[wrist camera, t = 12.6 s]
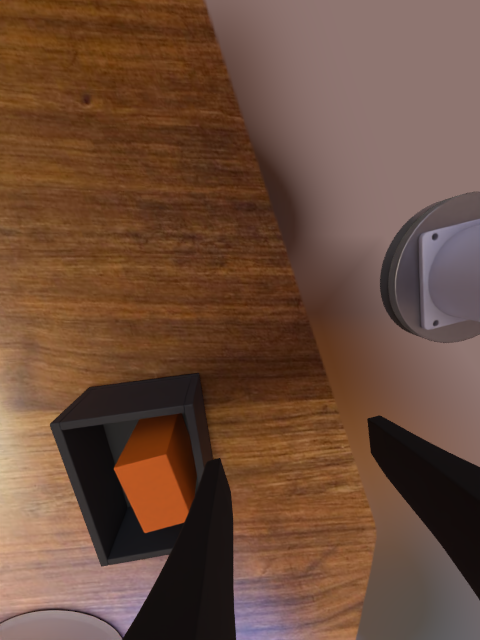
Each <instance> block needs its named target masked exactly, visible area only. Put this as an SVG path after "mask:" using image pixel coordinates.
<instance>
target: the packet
mask: <svg viewBox="0 0 480 640" xmlns="http://www.w3.org/2000/svg"><path fill="white" fill-rule="evenodd" d="M114 471H115V473H116V475H117V477H118V479H119V481H120V483H121V485H122V487H123V489H124V491H125V494H126V496H127V498H128V500H129V502H130V504H131V506H132V508H133V510H134V512H135V514H136V517H137V519H138V521H139V523H140V525H141V527H142V529H143V531H144V533H148V532H151V531H155V530H159V529H162V528H166V527H170V526H173V525H177V524H181V523H184V522H185V520H186V517H187V515H188V512H189V510H190V507H191V505H192V502H193V499H194V497H195V488H196V479H197V472H196V467H195V462H194V456H193V451H192V445H191V440H190V436H189V433H188V430H187V428H186V425H185V422H184V419H183V416H182V413H180V414H173V415H166V416H159V417H152V418H145V419H139V421H138V423H137V425H136V427H135V428H134V430H133V432H132V434H131V436H130V438H129V440H128V442H127V444H126V446H125V448H124V449H123V451H122V453H121V455H120V457H119V459H118V461H117V463H116V465H115V467H114Z"/></svg>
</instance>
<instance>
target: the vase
mask: <svg viewBox="0 0 480 640" xmlns="http://www.w3.org/2000/svg"><path fill="white" fill-rule="evenodd" d="M0 640H122V638H121V636H120V635H119V634H118V632H117V631H116V630H115V629H114V628H112V627H111V626H110V625H108V624H107V623H105V622H104V621H102V620H100V619H98V618H95V617H93V616H89V615H86V614H82V613H78V612H72V611H61V610H48V611H38V612H32V613H27V614H23V615H20V616H17V617H14V618H12V619H9V620H7V621H5V622H3V623H2V624H0Z"/></svg>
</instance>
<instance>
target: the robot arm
mask: <svg viewBox="0 0 480 640" xmlns="http://www.w3.org/2000/svg"><path fill="white" fill-rule="evenodd" d="M432 235H433V239H432ZM418 242H419V277H420V312H421V327H422V328H423V329H426V330H431V329H435V328H439V327H443V326H447V325H451V324H455V323H458V322H462V321H466V320H472V321H477V322H480V219H477V220H472V221H468V222H464V223H460V224H456V225H452V226H448V227H444V228H440V229H436V230H432V231H428V232H424V233H422V234H421V235H420V237H419V240H418ZM433 322H434V323H433ZM368 427H369V438H370V448H371V454H372V455H373V457H374V458H375V460H376V462H377V463H378V465H379V466H380V468H381V469H382V471H383V472H384V474H385V475H386V477H387V478H388V479H389V480H390V482H391V483H392V484H393V485H394V487H395V488H396V489H397V490H398V492H399V493H400V494H401V495H402V497H403V498H404V499H405V500H406V502H407V503H408V504H409V505H410V506H411V508H412V509H413V510H414V511H415V513H416V514H417V515H418V516H419V518H421V520H422V521H423V522H424V524H425V525H426V526H427V527H428V529H429V530H430V531H431V532H432V534H433V535H434V536H435V537H436V539H437V540H438V541H439V543H440V544H441V545H442V546H443V548H444V549H445V551H446V552H447V554H448V555H449V556H450V558H451V559H452V561H453V562H454V563H455V565H456V566H457V568H458V569H459V571H460V572H461V573H462V575H463V576H464V578H465V579H466V581H467V582H468V583H469V585H470V586H471V588H472V589H473V591H474V592H475V594H476V595H477V596H478V598H479V600H480V467H478V466H476V465H474V464H472V463H470V462H468V461H465V460H463V459H461V458H459V457H457V456H455V455H453V454H451V453H449V452H447V451H445V450H443V449H441V448H439V447H437V446H435V445H433V444H431V443H429V442H427V441H426V440H424V439H422V438H420V437H418V436H416V435H414V434H413V433H411V432H409V431H407V430H405V429H404V428H402V427H400V426H398V425H396V424H395V423H393V422H391V421H389V420H387V419H385V418H383V417H382V416H376V417H372V418H368ZM122 640H236V630H235V615H234V593H233V511H232V500H231V491H230V488H229V484H228V481H227V478H226V475H225V472H224V469H223V466H222V463H221V459H220V458H218V459H214V460H211V461H207V463H206V464H205V468H204V471H203V474H202V477H201V480H200V483H199V486H198V489H197V492H196V494H195V497H194V499H193V502H192V505H191V507H190V510H189V512H188V515H187V517H186V520H185V522H184V524H183V526H182V529H181V531H180V533H179V536H178V538H177V540H176V542H175V544H174V547H173V549H172V551H171V553H170V555H169V557H168V559H167V561H166V563H165V565H164V567H163V569H162V571H161V573H160V575H159V577H158V579H157V580H156V582H155V584H154V586H153V588H152V590H151V591H150V593H149V595H148V597H147V599H146V601H145V602H144V604H143V606H142V608H141V609H140V611H139V613H138V614H137V616H136V618H135V620H134V621H133V623H132V624H131V626H130V628H129V629H128V631H127V633H126V634H125V636H124V637H123V639H122Z"/></svg>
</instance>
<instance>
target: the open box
mask: <svg viewBox="0 0 480 640" xmlns="http://www.w3.org/2000/svg"><path fill="white" fill-rule="evenodd" d="M180 413H182V416H183V419H184V422H185V425H186V428H187V430H188V433H189V436H190V440H191V445H192V451H193V456H194V462H195V467H196V472H197V479H196V488H195V494H196V492H197V489H198V486H199V483H200V480H201V477H202V474H203V471H204V468H205V464H206V463H207V461H211V460H213V457H212V451H211V444H210V438H209V432H208V426H207V419H206V413H205V407H204V401H203V395H202V388H201V382H200V376H199V373H195V374H188V375H180V376H173V377H165V378H158V379H150V380H142V381H135V382H127V383H120V384H112V385H104V386H97V387H89V388H88V389H87V390H86V391H85V392H84V393H83V394H82V395H81V396H79V397H78V398H77V399H76V400H75V401H74V402H73V403H72V404H71V405H70V406H69V407H68V408H67V409H65V410H64V411H63V412H62V413H61V414H60V415H59V416H58V417H57V418H56V419H55V420H54V421H53V422H52V423H50V427H51V430H52V432H53V435H54V438H55V441H56V443H57V446H58V449H59V452H60V454H61V457H62V460H63V463H64V465H65V468H66V471H67V474H68V476H69V479H70V482H71V485H72V487H73V490H74V493H75V496H76V498H77V501H78V504H79V507H80V509H81V512H82V515H83V518H84V520H85V523H86V526H87V529H88V531H89V534H90V537H91V540H92V542H93V545H94V548H95V551H96V553H97V556H98V559H99V562H100V564H101V566H107V565H113V564H118V563H124V562H130V561H135V560H141V559H147V558H152V557H158V556H163V555H169V554H170V553H171V551H172V549H173V547H174V544H175V542H176V540H177V538H178V536H179V533H180V531H181V529H182V526H183V524H184V523H181V524H177V525H173V526H170V527H166V528H162V529H159V530H155V531H151V532H148V533H144V531H143V529H142V527H141V525H140V523H139V521H138V519H137V517H136V514H135V512H134V510H133V508H132V506H131V504H130V502H129V500H128V498H127V496H126V494H125V491H124V489H123V487H122V485H121V483H120V481H119V479H118V477H117V475H116V473H115V471H114V467H115V465H116V463H117V461H118V459H119V457H120V455H121V453H122V451H123V449H124V448H125V446H126V444H127V442H128V440H129V438H130V436H131V434H132V432H133V430H134V428H135V427H136V425H137V423H138V421H139V419H145V418H152V417H159V416H166V415H173V414H180Z"/></svg>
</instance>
